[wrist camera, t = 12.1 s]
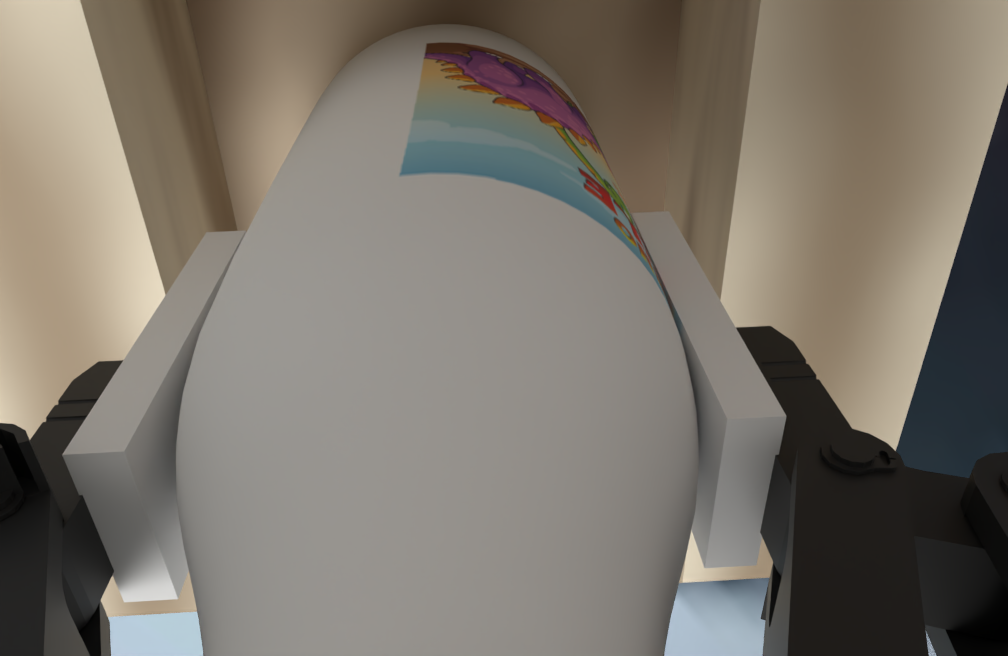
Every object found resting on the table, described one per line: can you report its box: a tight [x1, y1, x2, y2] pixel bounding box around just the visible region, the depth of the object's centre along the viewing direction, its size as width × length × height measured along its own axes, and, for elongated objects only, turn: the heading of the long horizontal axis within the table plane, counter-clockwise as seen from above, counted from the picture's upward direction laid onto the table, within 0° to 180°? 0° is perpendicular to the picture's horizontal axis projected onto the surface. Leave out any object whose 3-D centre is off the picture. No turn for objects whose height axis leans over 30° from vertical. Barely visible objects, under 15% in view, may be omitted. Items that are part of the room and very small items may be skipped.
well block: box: [0, 0, 1008, 617], centre depth 21 cm, size 24×24×7 cm
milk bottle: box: [176, 24, 699, 656], centre depth 13 cm, size 8×8×20 cm
